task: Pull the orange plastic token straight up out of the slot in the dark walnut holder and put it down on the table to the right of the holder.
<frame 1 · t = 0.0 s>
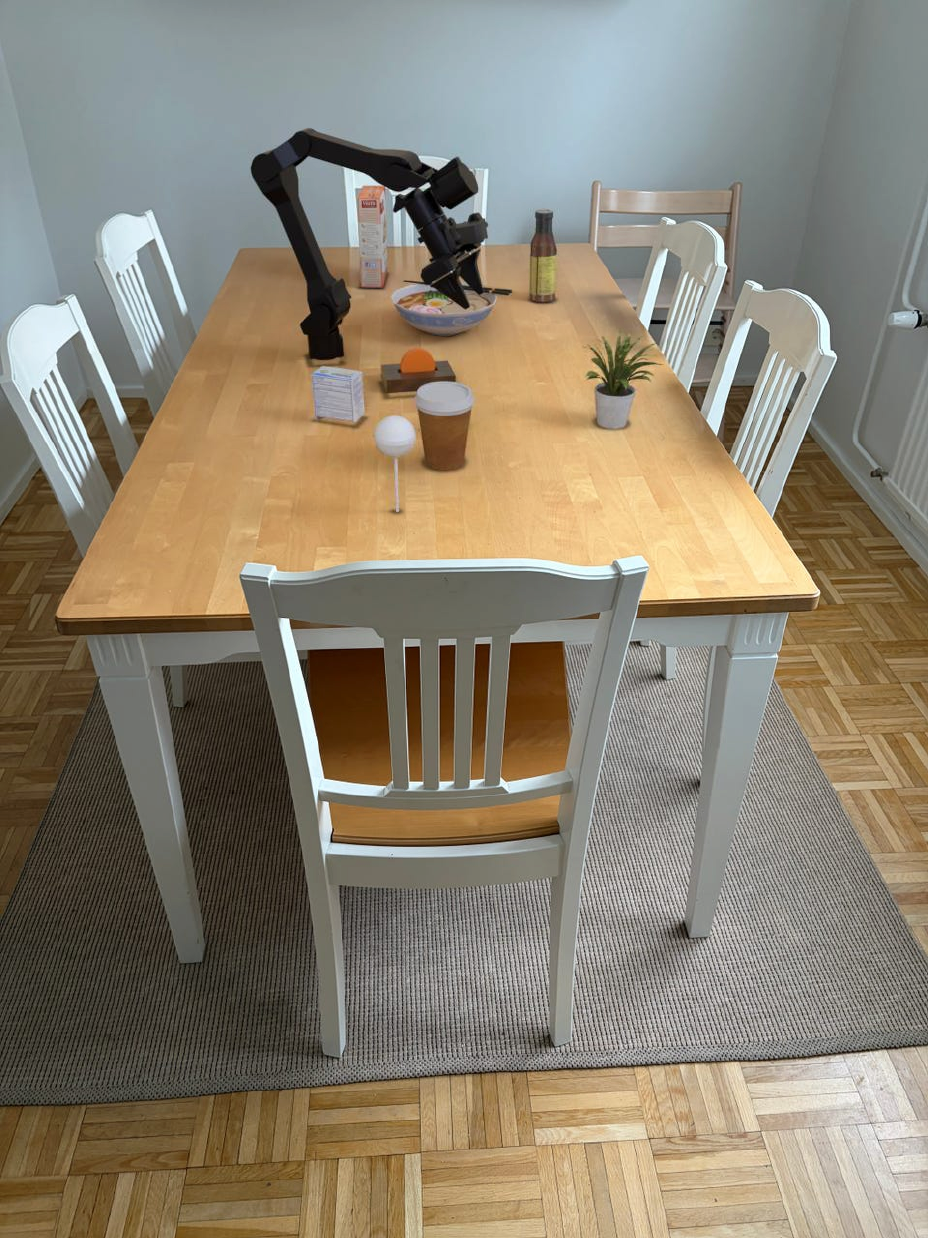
hand: (474, 300, 177), 15 cm above the table, tool tilted 35°, fingers open, 9 cm apart
cracker box: (374, 281, 238), on the table
token: (417, 382, 180), point 1 cm above the table, touching holder
disposable coffee cup: (444, 462, 155), on the table
medicine box: (340, 420, 169), on the table
sauce bottle: (541, 300, 227), on the table
lollipop: (397, 512, 142), on the table
ramen bowl: (444, 331, 208), on the table
holder: (418, 387, 181), on the table
house plant: (607, 426, 168), on the table
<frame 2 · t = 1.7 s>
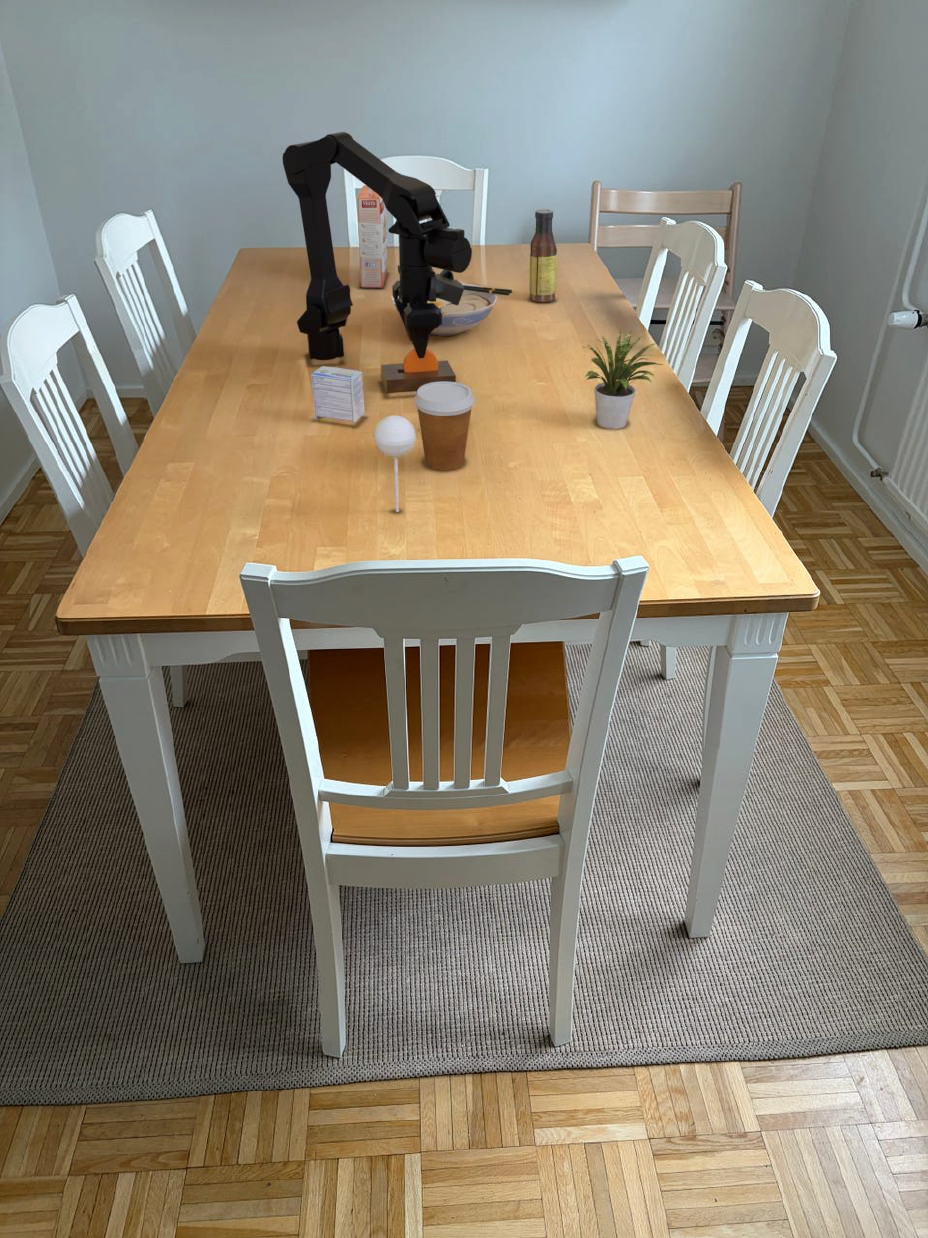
hand: (417, 349, 177), 7 cm above the table, tool pointing down, fingers open, 9 cm apart
token: (417, 382, 180), point 1 cm above the table, tilted 10°, touching holder
everything else where it was.
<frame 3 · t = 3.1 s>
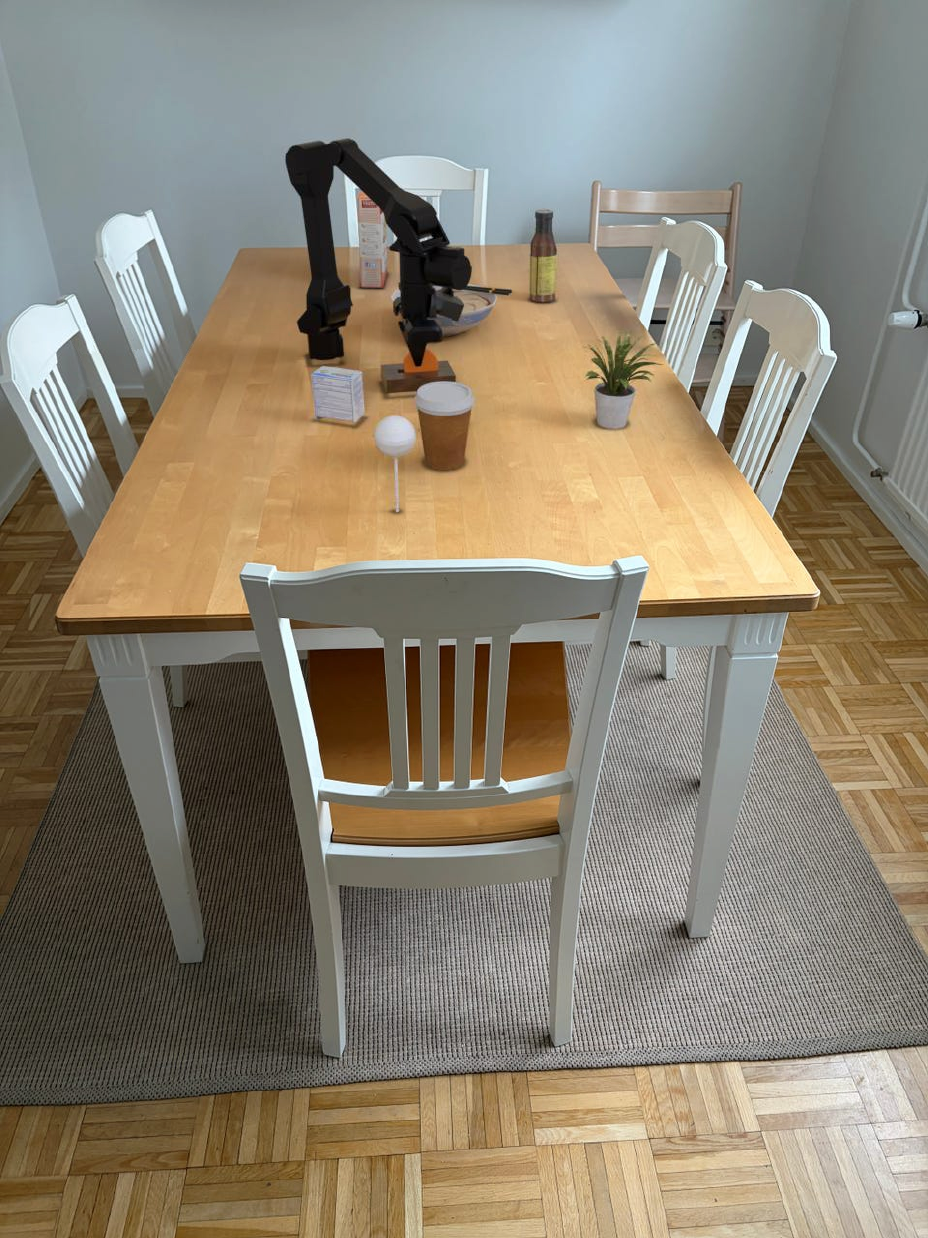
hand: (417, 364, 178), 5 cm above the table, tool pointing down, fingers closed on token, 1 cm apart
token: (417, 382, 180), point 1 cm above the table, tilted 10°, touching gripper, holder
everything else where it was.
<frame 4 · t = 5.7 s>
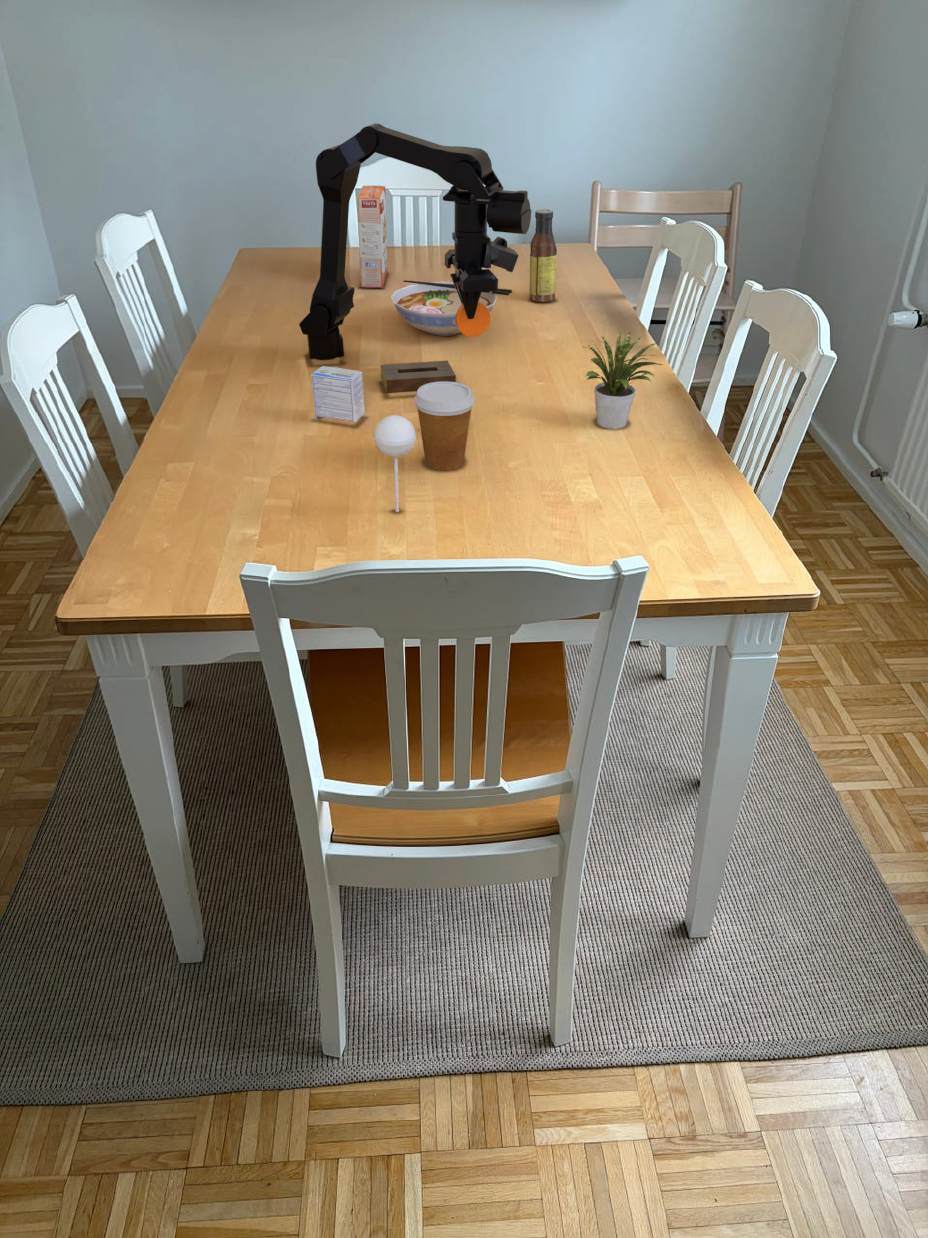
hand: (469, 317, 177), 12 cm above the table, tool pointing down, fingers closed on token
token: (469, 335, 179), point 9 cm above the table, tilted 10°, touching gripper
everything else where it was.
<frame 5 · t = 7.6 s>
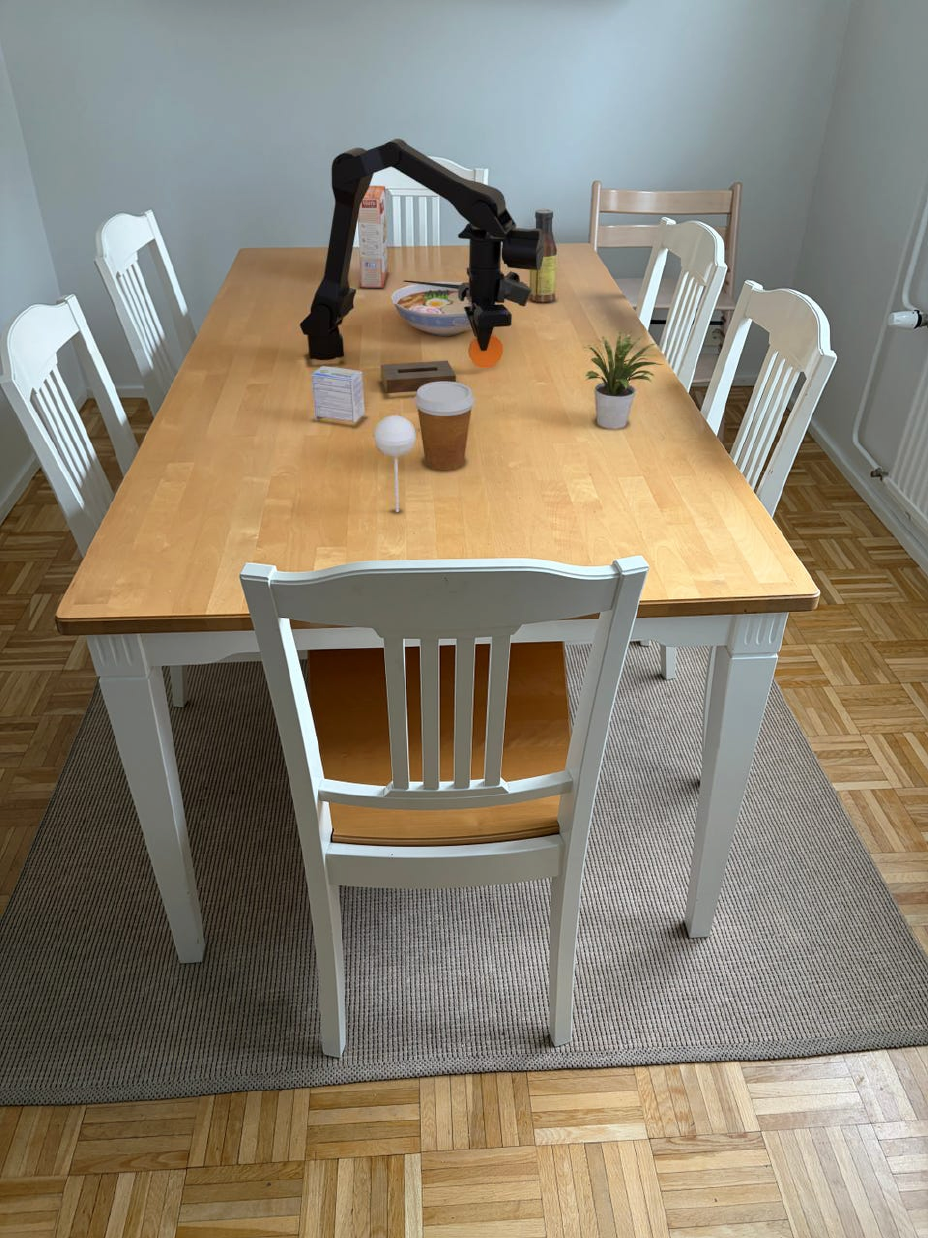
hand: (482, 349, 181), 6 cm above the table, tool pointing down, fingers closed on token, 1 cm apart
token: (482, 366, 183), point 3 cm above the table, tilted 10°, touching gripper
everything else where it was.
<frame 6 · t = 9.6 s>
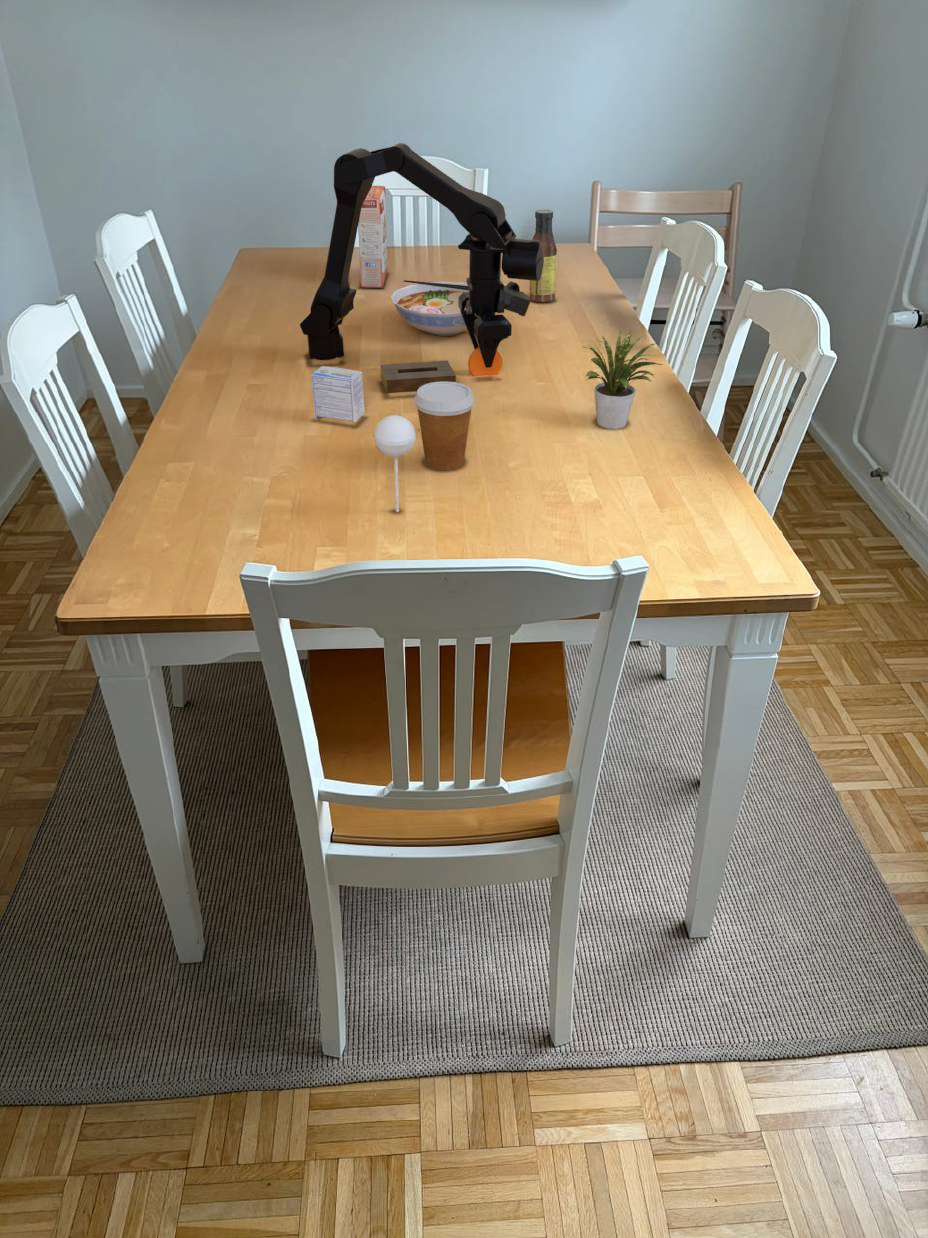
hand: (483, 358, 182), 4 cm above the table, tool pointing down, fingers open, 9 cm apart
token: (482, 378, 185), on the table, tilted 10°
everything else where it was.
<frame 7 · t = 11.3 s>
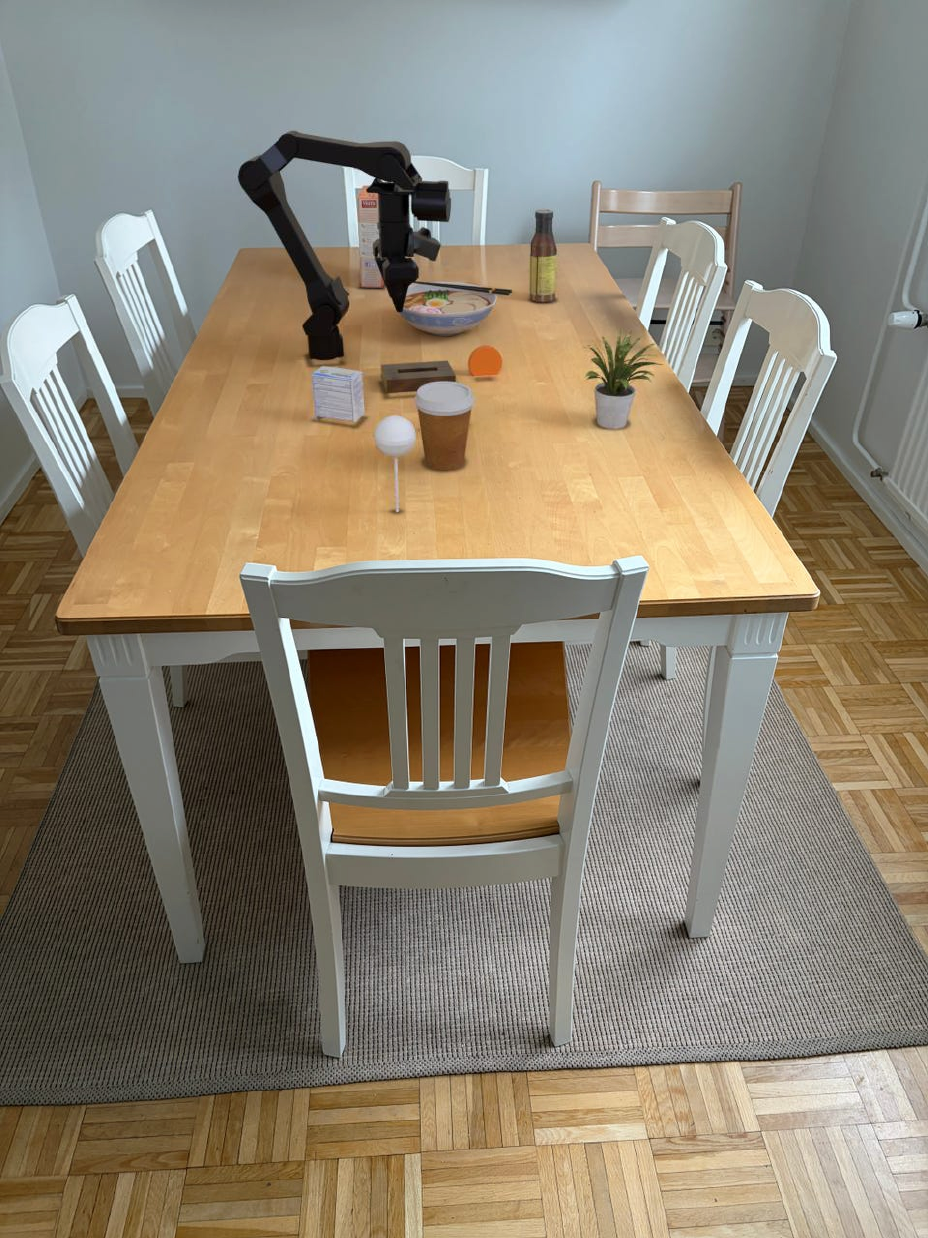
hand: (396, 304, 184), 12 cm above the table, tool pointing down, fingers open, 9 cm apart
nothing on the table moved.
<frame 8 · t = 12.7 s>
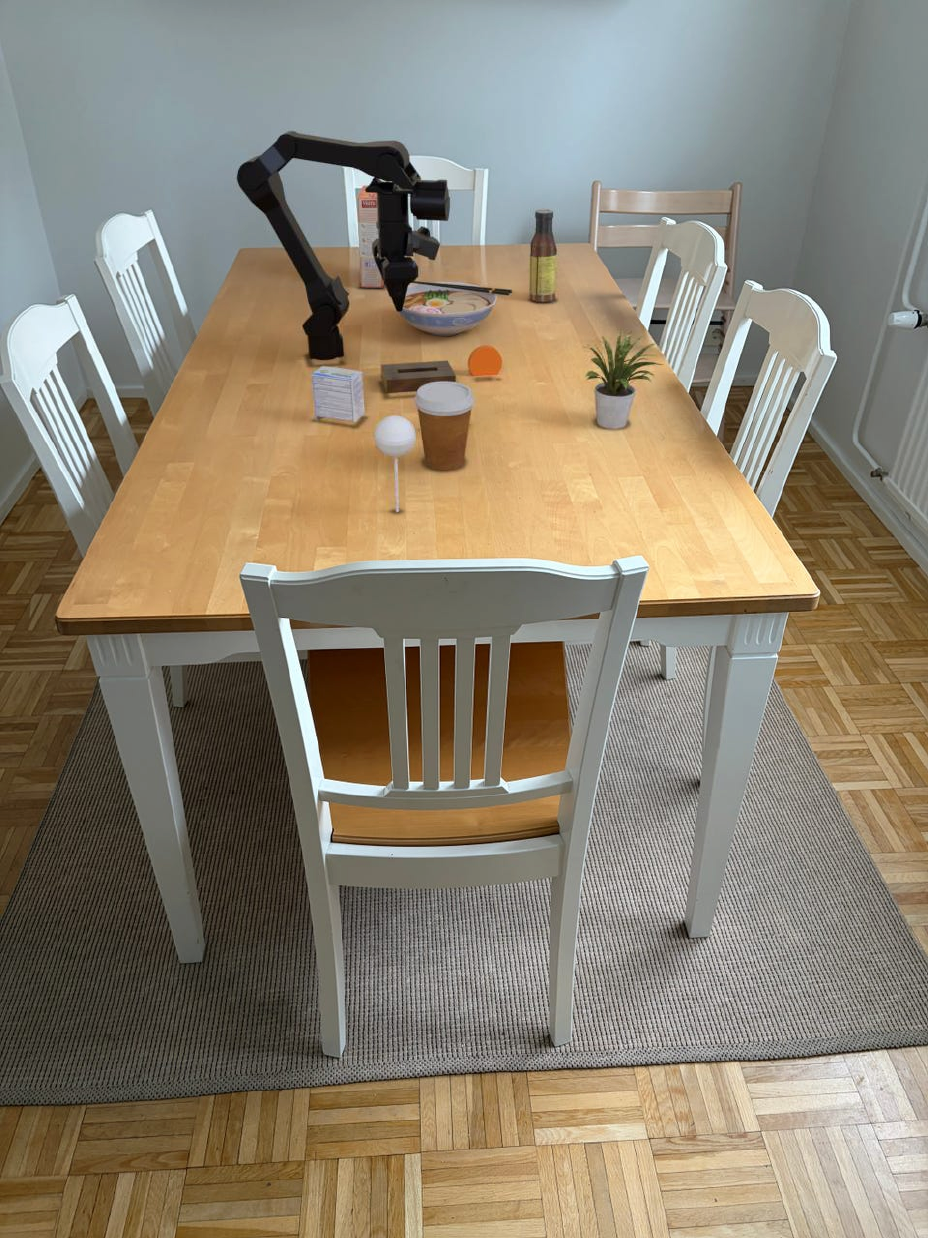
hand: (395, 303, 184), 12 cm above the table, tool pointing down, fingers open, 9 cm apart
nothing on the table moved.
at the end: token inside the target area (0.0 cm from its centre), on the table; token touching table; the gripper is holding nothing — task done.
